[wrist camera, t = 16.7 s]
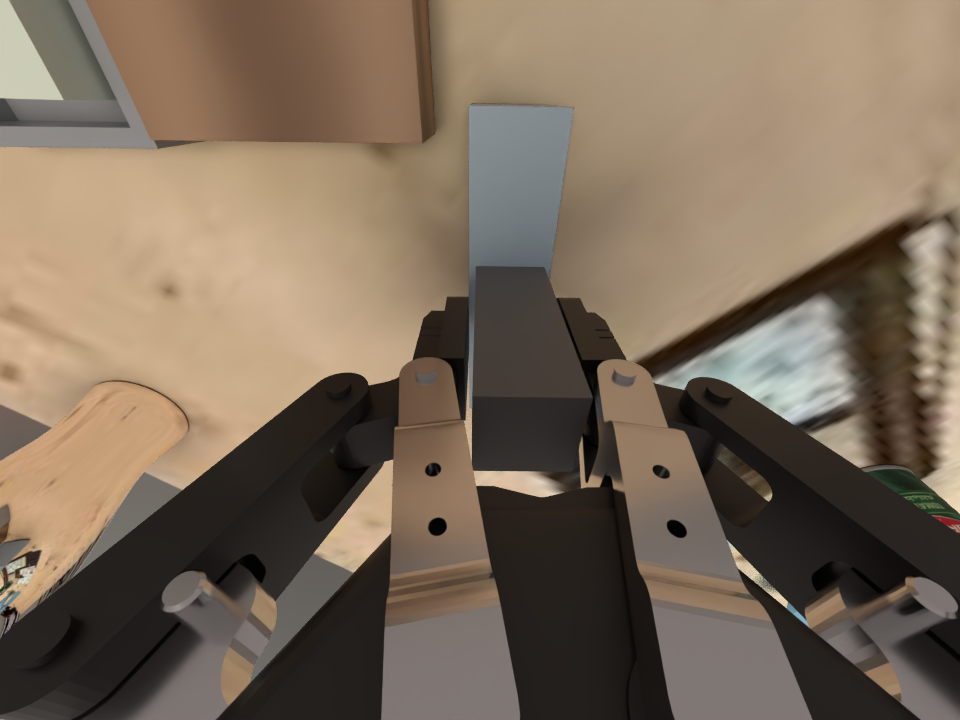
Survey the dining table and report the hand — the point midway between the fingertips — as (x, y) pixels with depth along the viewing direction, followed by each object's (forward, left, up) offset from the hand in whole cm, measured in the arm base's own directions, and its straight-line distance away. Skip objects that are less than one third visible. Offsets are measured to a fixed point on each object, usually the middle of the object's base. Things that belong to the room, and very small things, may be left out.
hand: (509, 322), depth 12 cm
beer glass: (+25, +12, -7) cm, 29 cm away
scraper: (0, 0, -7) cm, 7 cm away
